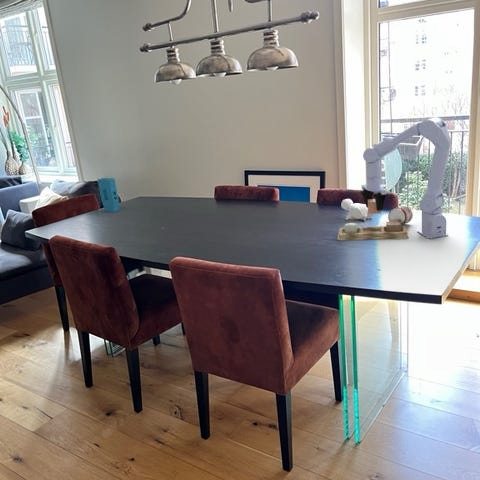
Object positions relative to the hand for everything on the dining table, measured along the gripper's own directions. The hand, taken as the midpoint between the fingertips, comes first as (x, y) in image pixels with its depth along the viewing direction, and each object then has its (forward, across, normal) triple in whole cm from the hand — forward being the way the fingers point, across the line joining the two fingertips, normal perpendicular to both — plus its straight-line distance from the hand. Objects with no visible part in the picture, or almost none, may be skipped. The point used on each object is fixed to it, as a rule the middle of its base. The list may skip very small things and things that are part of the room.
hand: (374, 208), depth 197 cm
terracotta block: (+1, 0, 0) cm, 1 cm away
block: (+8, +134, +98) cm, 167 cm away
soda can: (+5, -2, -14) cm, 15 cm away
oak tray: (+8, -8, +7) cm, 13 cm away
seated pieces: (+8, -8, +7) cm, 13 cm away
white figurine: (+9, +18, -3) cm, 20 cm away
